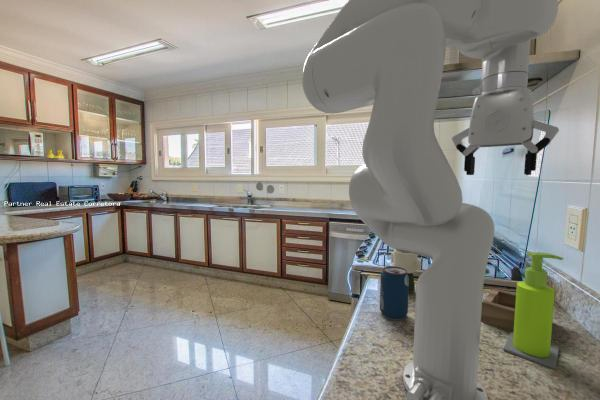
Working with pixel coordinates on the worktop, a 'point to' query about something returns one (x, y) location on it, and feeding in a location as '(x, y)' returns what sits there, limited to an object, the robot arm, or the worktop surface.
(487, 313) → the walnut stand
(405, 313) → the soda can
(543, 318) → the soap dispenser
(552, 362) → the rubber mat
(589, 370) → the worktop surface
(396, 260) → the character mug
